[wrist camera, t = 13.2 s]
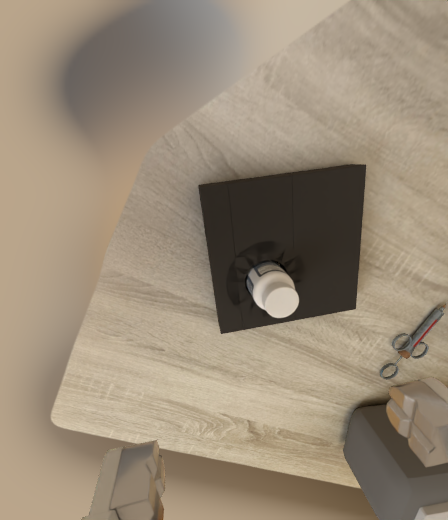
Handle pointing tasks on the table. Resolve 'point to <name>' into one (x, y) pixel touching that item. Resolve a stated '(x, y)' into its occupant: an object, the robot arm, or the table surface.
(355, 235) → the socket pad
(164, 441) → the table surface
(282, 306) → the pill bottle
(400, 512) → the alarm clock
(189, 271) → the table surface
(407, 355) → the syringe
